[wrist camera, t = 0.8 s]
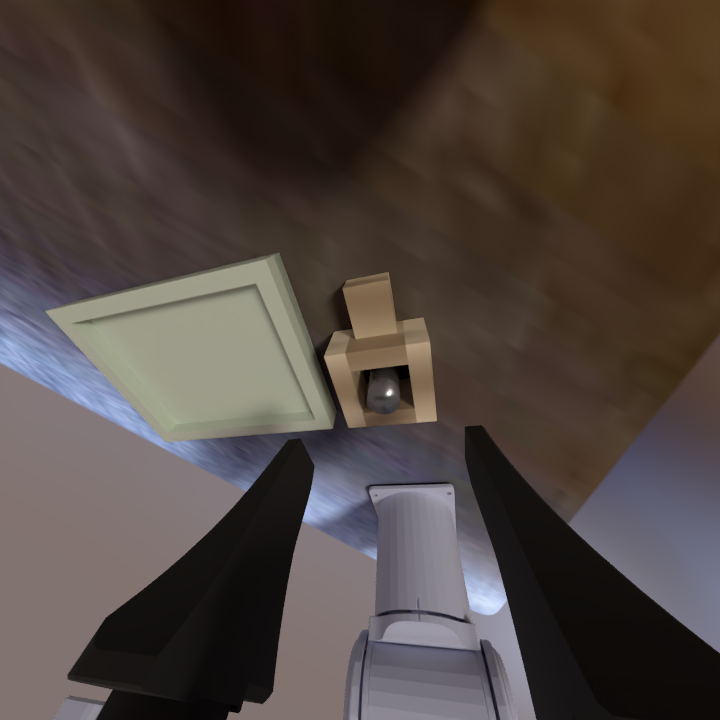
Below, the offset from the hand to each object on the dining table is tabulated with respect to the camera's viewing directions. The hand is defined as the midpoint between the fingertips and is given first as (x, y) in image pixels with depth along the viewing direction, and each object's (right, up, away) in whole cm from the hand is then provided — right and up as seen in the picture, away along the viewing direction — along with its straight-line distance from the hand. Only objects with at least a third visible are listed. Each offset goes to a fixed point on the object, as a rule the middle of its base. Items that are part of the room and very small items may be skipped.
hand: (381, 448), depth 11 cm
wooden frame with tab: (0, +5, +5) cm, 7 cm away
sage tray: (-11, +4, +7) cm, 14 cm away
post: (+1, +4, +6) cm, 7 cm away
